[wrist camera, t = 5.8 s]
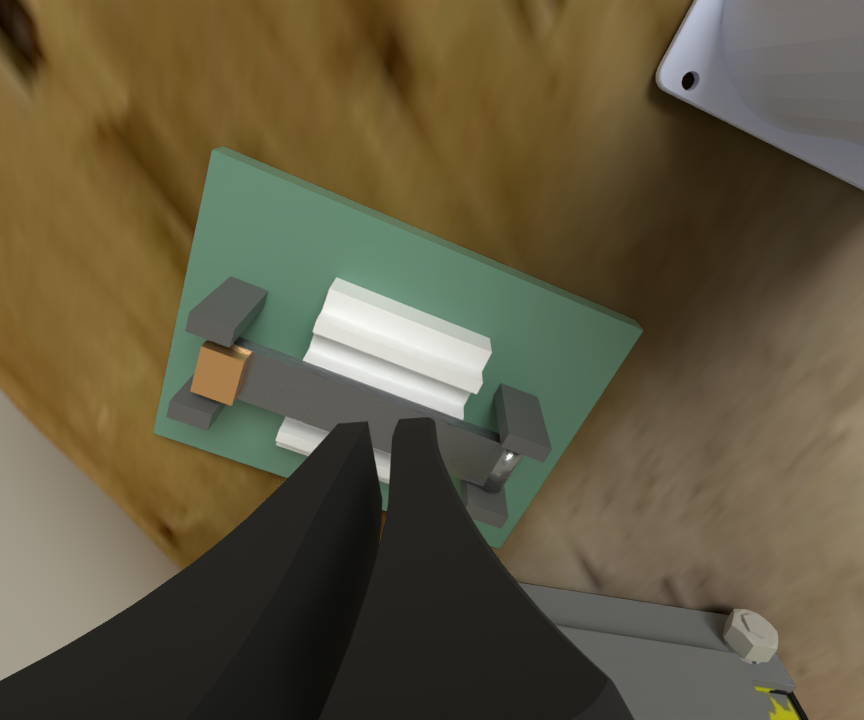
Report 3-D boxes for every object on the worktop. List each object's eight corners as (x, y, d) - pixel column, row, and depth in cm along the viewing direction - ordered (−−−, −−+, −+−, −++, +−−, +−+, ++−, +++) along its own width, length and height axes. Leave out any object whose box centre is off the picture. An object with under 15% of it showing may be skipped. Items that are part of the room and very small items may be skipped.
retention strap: (524, 441, 20) (528, 464, 18) (500, 480, 21) (503, 504, 19) (218, 326, 18) (201, 343, 17) (206, 374, 19) (189, 393, 18)
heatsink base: (635, 319, 20) (678, 375, 17) (498, 533, 26) (506, 613, 22) (224, 146, 18) (161, 163, 14) (164, 419, 23) (106, 487, 19)
